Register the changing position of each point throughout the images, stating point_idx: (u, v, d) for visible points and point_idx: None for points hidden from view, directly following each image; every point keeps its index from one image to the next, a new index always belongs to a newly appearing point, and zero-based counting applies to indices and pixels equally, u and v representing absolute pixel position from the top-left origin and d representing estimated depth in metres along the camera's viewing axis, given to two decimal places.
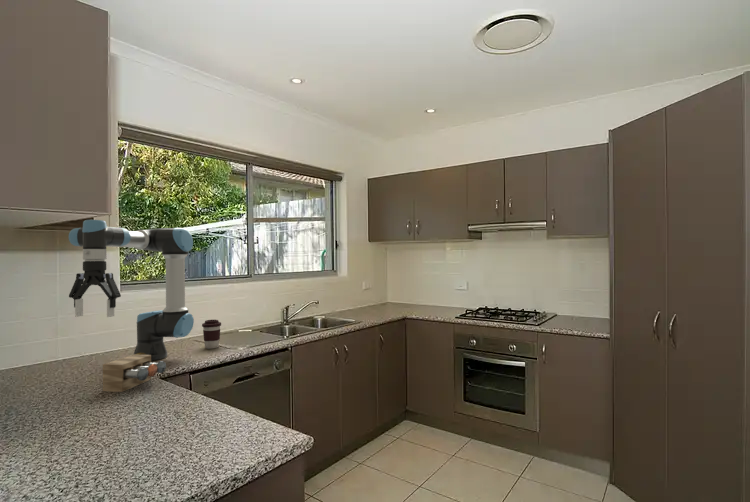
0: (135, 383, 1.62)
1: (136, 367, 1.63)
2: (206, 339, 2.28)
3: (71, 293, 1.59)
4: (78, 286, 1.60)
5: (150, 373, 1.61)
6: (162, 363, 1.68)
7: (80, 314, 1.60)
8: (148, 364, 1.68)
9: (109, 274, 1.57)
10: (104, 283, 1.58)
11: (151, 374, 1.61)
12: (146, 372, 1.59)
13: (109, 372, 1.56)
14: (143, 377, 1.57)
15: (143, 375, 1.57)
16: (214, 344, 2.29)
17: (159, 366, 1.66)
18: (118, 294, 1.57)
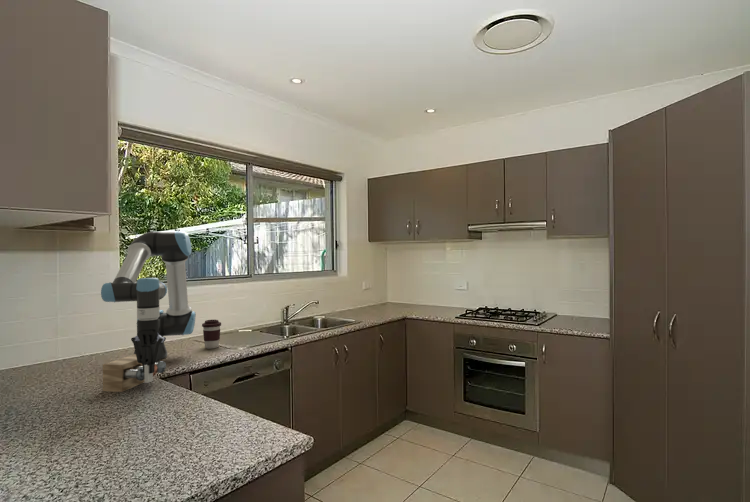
0: (135, 383, 1.62)
1: (136, 367, 1.63)
2: (206, 339, 2.28)
3: (138, 358, 1.57)
4: (140, 349, 1.58)
5: None
6: (162, 363, 1.68)
7: None
8: None
9: (162, 340, 1.56)
10: (153, 345, 1.57)
11: None
12: None
13: (109, 372, 1.56)
14: (142, 377, 1.57)
15: (142, 375, 1.57)
16: (214, 344, 2.29)
17: (159, 366, 1.66)
18: None
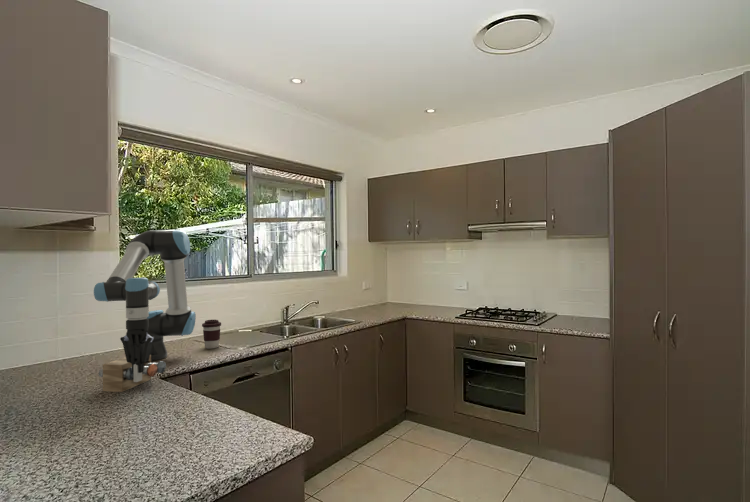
0: (135, 383, 1.62)
1: None
2: (206, 339, 2.28)
3: (127, 357, 1.57)
4: (129, 348, 1.59)
5: (150, 373, 1.61)
6: (162, 363, 1.68)
7: None
8: (148, 364, 1.68)
9: (151, 339, 1.57)
10: (142, 344, 1.58)
11: (151, 374, 1.61)
12: None
13: (109, 372, 1.56)
14: (131, 377, 1.58)
15: (131, 375, 1.58)
16: (214, 344, 2.29)
17: (159, 366, 1.66)
18: (146, 358, 1.58)
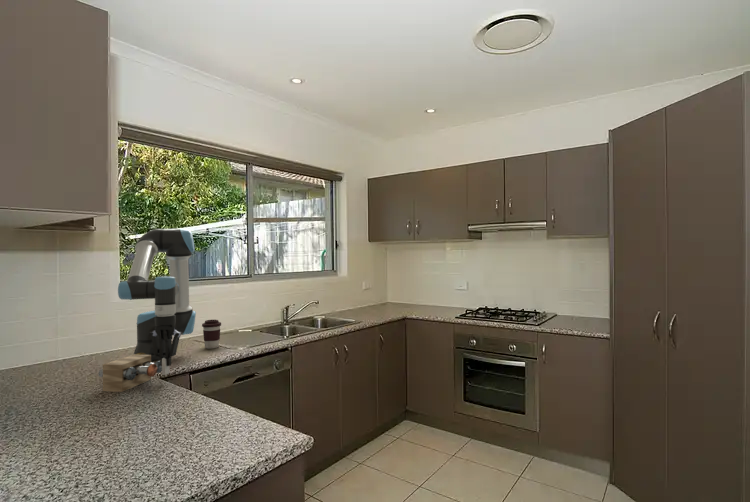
0: (135, 383, 1.62)
1: (136, 367, 1.63)
2: (206, 339, 2.28)
3: (156, 352, 1.67)
4: (157, 343, 1.68)
5: (150, 373, 1.61)
6: None
7: None
8: (146, 364, 1.68)
9: (178, 334, 1.66)
10: (170, 339, 1.68)
11: (151, 374, 1.61)
12: (134, 372, 1.59)
13: (109, 372, 1.56)
14: (131, 377, 1.58)
15: (131, 375, 1.58)
16: (214, 344, 2.29)
17: (157, 366, 1.66)
18: (174, 353, 1.67)
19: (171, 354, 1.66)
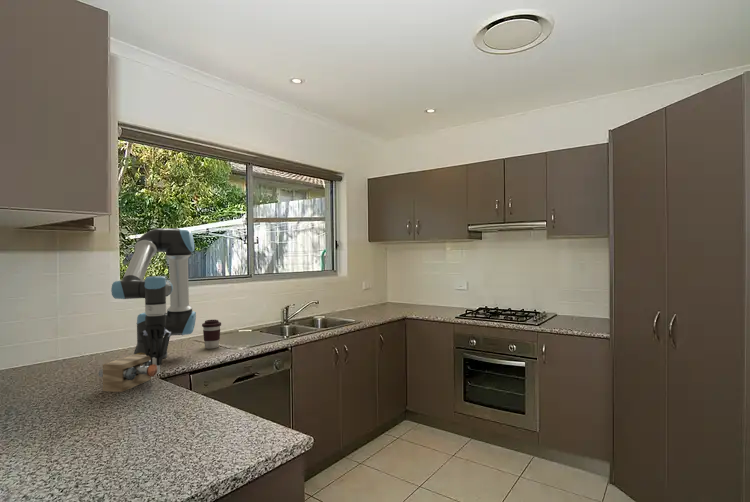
0: (135, 383, 1.62)
1: (136, 367, 1.63)
2: (206, 339, 2.28)
3: (146, 351, 1.68)
4: (148, 343, 1.69)
5: (150, 373, 1.61)
6: None
7: None
8: None
9: (169, 334, 1.67)
10: (160, 339, 1.68)
11: (151, 374, 1.61)
12: (134, 372, 1.59)
13: (109, 372, 1.56)
14: (131, 377, 1.58)
15: (131, 375, 1.58)
16: (214, 344, 2.29)
17: None
18: None
19: (161, 353, 1.67)
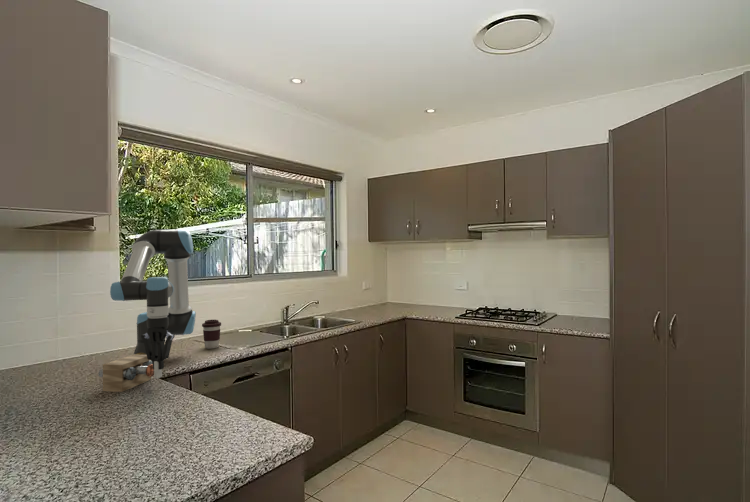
0: (135, 383, 1.62)
1: (135, 367, 1.63)
2: (206, 339, 2.28)
3: (148, 355, 1.62)
4: (149, 346, 1.63)
5: (149, 373, 1.61)
6: (151, 363, 1.69)
7: None
8: None
9: (171, 337, 1.61)
10: (162, 342, 1.62)
11: (150, 374, 1.62)
12: (134, 372, 1.59)
13: (109, 372, 1.56)
14: (131, 377, 1.58)
15: (131, 375, 1.58)
16: (214, 344, 2.29)
17: None
18: (166, 356, 1.62)
19: (163, 357, 1.61)
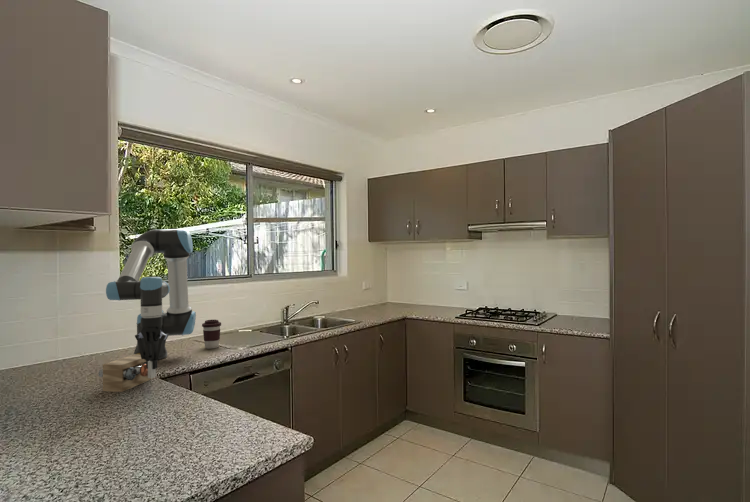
0: (135, 383, 1.62)
1: None
2: (206, 339, 2.28)
3: (142, 354, 1.62)
4: (143, 345, 1.63)
5: (143, 373, 1.61)
6: None
7: None
8: None
9: (165, 337, 1.61)
10: (156, 342, 1.63)
11: (144, 374, 1.62)
12: (134, 372, 1.59)
13: (109, 372, 1.56)
14: (131, 377, 1.58)
15: (131, 375, 1.58)
16: (214, 344, 2.29)
17: None
18: None
19: (157, 357, 1.61)
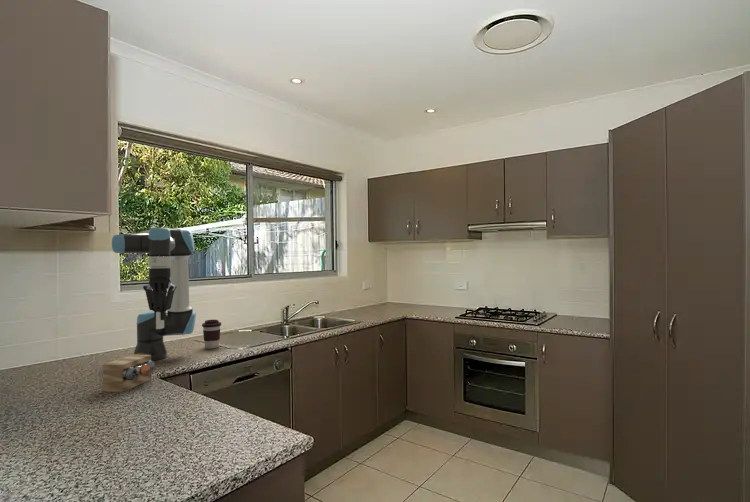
0: (135, 383, 1.62)
1: None
2: (206, 339, 2.28)
3: (150, 305, 1.62)
4: (151, 297, 1.63)
5: (143, 373, 1.61)
6: (151, 363, 1.69)
7: None
8: None
9: (173, 287, 1.61)
10: (164, 293, 1.62)
11: (144, 374, 1.62)
12: (134, 372, 1.59)
13: (109, 372, 1.56)
14: (131, 377, 1.58)
15: (131, 375, 1.58)
16: (214, 344, 2.29)
17: None
18: (168, 306, 1.62)
19: (165, 307, 1.61)
